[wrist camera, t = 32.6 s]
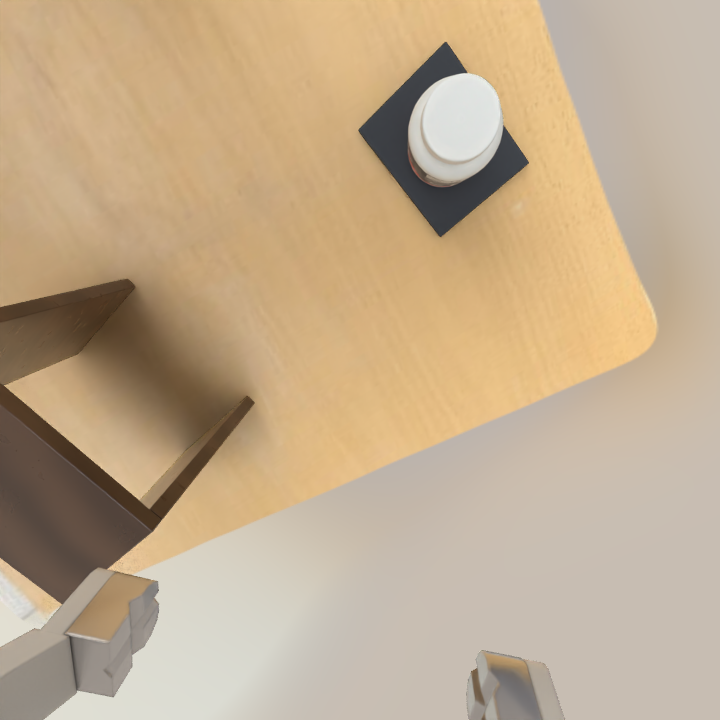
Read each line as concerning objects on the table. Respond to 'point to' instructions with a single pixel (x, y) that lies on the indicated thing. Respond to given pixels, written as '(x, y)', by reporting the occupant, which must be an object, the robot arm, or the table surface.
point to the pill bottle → (454, 129)
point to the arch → (72, 455)
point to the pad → (391, 147)
